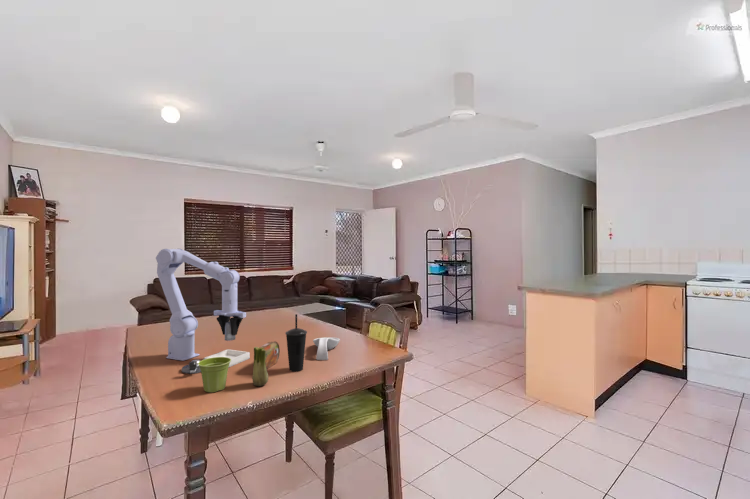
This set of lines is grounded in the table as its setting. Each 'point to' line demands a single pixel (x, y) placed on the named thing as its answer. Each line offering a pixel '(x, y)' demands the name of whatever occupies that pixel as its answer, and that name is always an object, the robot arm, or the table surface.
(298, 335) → the drinking cup
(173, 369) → the table surface
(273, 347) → the tin
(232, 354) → the tray
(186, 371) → the crank base
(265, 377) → the fennel bulb
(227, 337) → the cylinder
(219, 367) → the plant pot
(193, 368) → the crank
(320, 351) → the spoon rest
